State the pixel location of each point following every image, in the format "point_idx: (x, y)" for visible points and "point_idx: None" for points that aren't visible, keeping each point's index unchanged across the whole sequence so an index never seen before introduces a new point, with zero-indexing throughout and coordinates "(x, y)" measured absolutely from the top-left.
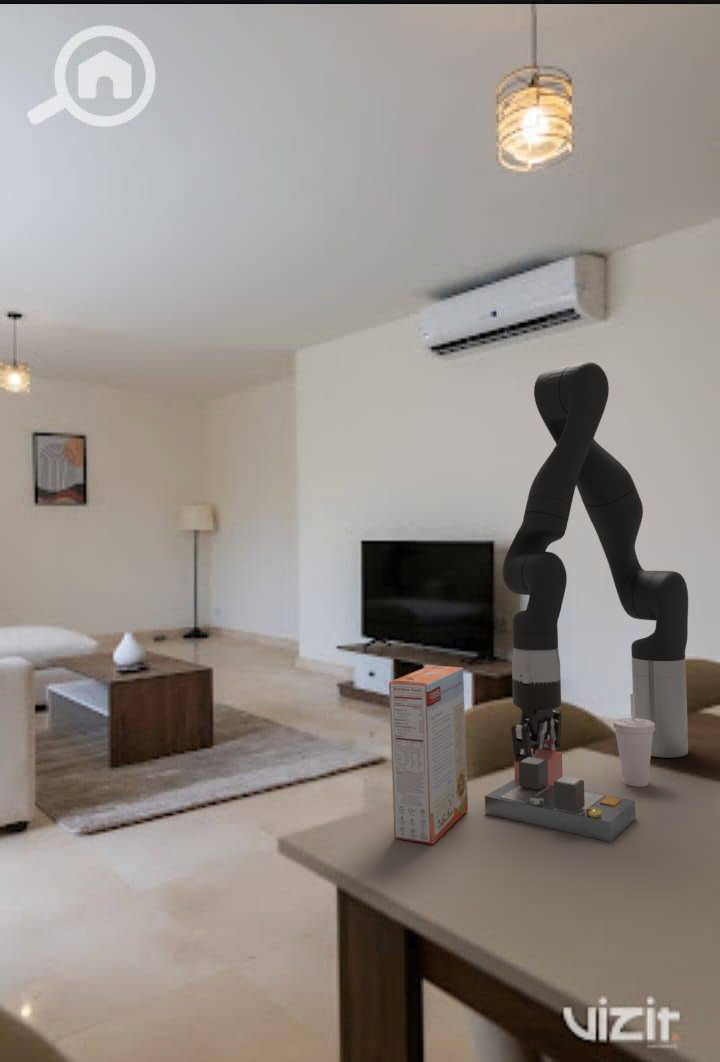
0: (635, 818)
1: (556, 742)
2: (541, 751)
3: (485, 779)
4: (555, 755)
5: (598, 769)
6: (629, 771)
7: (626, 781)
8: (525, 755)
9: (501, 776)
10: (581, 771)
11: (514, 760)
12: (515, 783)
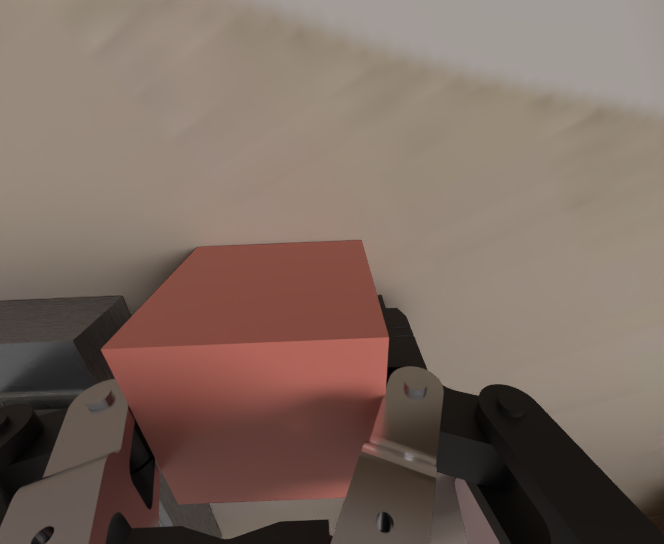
0: (221, 536)
1: (474, 494)
2: (326, 430)
3: (185, 33)
4: (295, 497)
5: (607, 380)
6: (468, 527)
7: (463, 482)
8: (6, 500)
9: (305, 92)
10: (560, 350)
11: (125, 323)
12: (12, 369)
